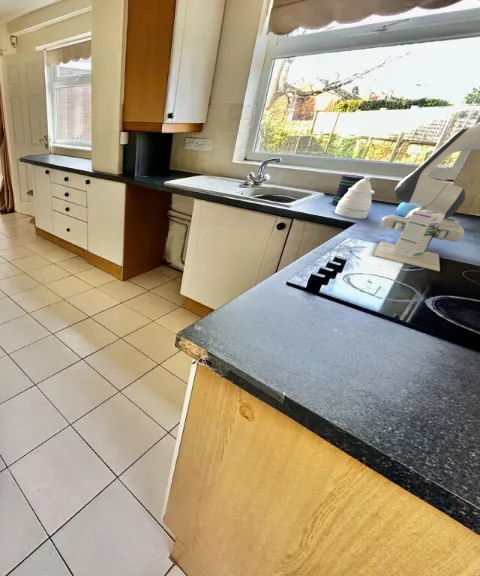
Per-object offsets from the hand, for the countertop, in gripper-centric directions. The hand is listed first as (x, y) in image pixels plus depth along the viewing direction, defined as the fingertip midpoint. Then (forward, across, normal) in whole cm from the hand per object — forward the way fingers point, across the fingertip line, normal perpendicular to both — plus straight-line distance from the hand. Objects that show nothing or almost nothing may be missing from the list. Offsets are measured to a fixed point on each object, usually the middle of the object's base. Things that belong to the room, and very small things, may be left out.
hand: (419, 232), depth 102 cm
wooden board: (-1, 0, +8) cm, 8 cm away
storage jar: (-75, -30, +8) cm, 81 cm away
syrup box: (-1, 0, +8) cm, 8 cm away
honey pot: (-52, -23, +8) cm, 57 cm away
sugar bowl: (-76, 0, +8) cm, 76 cm away
